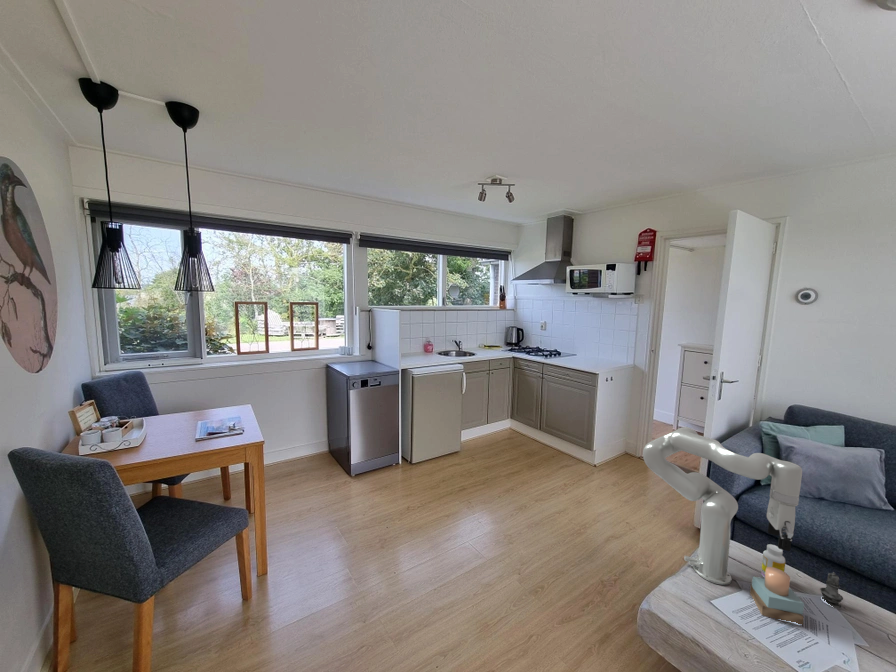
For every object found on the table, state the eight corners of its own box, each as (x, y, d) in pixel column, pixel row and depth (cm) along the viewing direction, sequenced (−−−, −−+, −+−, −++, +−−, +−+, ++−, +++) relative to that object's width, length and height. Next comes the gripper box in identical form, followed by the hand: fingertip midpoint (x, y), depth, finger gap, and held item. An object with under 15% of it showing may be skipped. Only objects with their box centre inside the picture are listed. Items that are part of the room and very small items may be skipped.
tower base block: (761, 616, 125) (762, 605, 125) (749, 594, 136) (750, 584, 135) (802, 628, 121) (803, 617, 121) (786, 604, 131) (787, 594, 131)
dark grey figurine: (847, 610, 129) (850, 579, 128) (827, 607, 130) (831, 576, 129) (833, 598, 134) (836, 567, 134) (814, 595, 136) (818, 565, 135)
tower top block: (767, 607, 125) (769, 596, 124) (751, 586, 134) (752, 576, 134) (802, 614, 122) (804, 603, 122) (783, 592, 132) (784, 582, 131)
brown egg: (768, 592, 126) (769, 576, 126) (761, 580, 132) (763, 564, 132) (791, 598, 124) (793, 582, 123) (784, 586, 129) (785, 570, 129)
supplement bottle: (786, 582, 142) (790, 551, 141) (777, 586, 139) (780, 555, 138) (766, 570, 148) (769, 541, 147) (757, 574, 145) (760, 544, 145)
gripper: (762, 483, 137) (757, 525, 139) (780, 504, 122) (774, 552, 123) (787, 488, 134) (782, 531, 135) (809, 511, 118) (802, 559, 120)
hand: (778, 541), depth 129 cm, fingers open, 9 cm apart
